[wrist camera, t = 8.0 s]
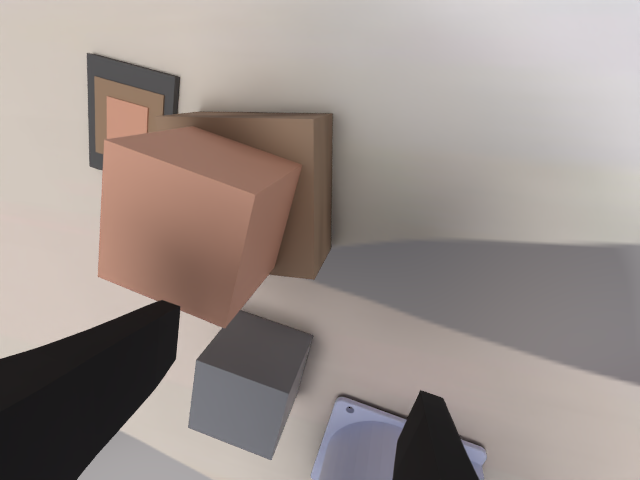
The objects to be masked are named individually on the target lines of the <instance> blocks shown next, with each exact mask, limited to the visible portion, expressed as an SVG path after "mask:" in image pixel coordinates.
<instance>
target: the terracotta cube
mask: <svg viewBox="0 0 640 480" xmlns="http://www.w3.org/2000/svg"><path fill="white" fill-rule="evenodd" d="M301 168H302V164H299V163H296V162H293V161H290V160H288V159H285V158H282V157H279V156H276V155H273V154H271V153H268V152H265V151H262V150H259V149H256V148H253V147H251V146H248V145H245V144H242V143H239V142H236V141H234V140H231V139H228V138H225V137H222V136H219V135H216V134H214V133H211V132H208V131H205V130H202V129H199V128H197V127H194V126H190V127H183V128H177V129H170V130H164V131H157V132H151V133H144V134H138V135H131V136H124V137H118V138H111V139H105V140H104V154H103V175H102V197H101V219H100V241H99V263H98V277H100V278H102V279H105V280H107V281H110V282H112V283H115V284H117V285H120V286H122V287H125V288H127V289H129V290H132V291H134V292H137V293H139V294H142V295H144V296H147V297H149V298H151V299H154V300H156V301H160V300H164V301H167V302H170V303H173V304H175V305H178V306H180V310H181V311H183V312H186V313H188V314H191V315H193V316H196V317H198V318H200V319H203V320H205V321H208V322H210V323H213V324H215V325H218V326H220V327H223V328H226V327H227V325H228V324H229V323H230V322H231V321H232V319H233V318H234V317H235V316H236V314H237V313H238V312H239V311H240V309H241V308H242V307H243V306H244V304H245V303H246V302H247V301H248V300H249V298H250V297H251V296H252V295H253V293H254V292H255V291H256V290H257V288H258V287H259V286H260V285H261V283H262V282H263V281H264V280H265V279H266V277H267V276H268V275H269V274H270V272H271V271H272V270H273V269H274V267H275V264H276V260H277V256H278V253H279V249H280V245H281V242H282V238H283V234H284V231H285V227H286V223H287V220H288V216H289V212H290V209H291V205H292V201H293V198H294V194H295V190H296V187H297V183H298V179H299V176H300V172H301Z"/></svg>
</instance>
